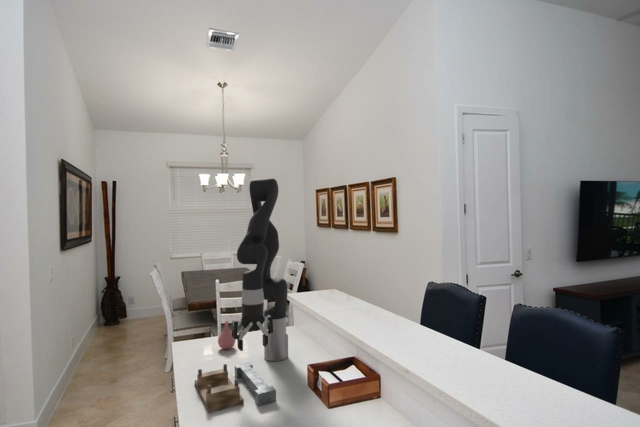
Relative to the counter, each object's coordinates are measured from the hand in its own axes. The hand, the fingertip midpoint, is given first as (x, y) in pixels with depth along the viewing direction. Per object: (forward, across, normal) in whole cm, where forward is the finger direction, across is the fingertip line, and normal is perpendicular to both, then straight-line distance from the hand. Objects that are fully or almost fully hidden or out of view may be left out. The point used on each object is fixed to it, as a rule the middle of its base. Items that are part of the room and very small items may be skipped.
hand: (252, 348), depth 131 cm
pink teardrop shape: (+14, -2, -43) cm, 45 cm away
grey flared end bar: (+14, 0, 0) cm, 14 cm away
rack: (+14, +12, -2) cm, 18 cm away
